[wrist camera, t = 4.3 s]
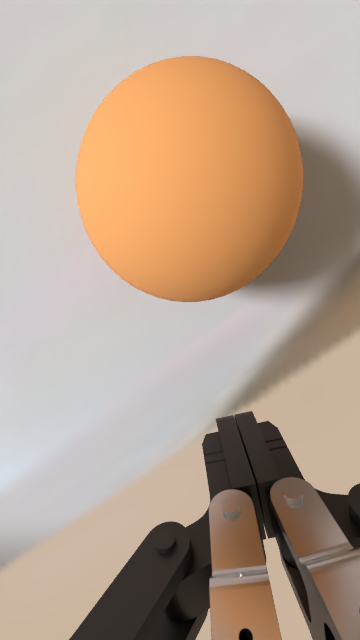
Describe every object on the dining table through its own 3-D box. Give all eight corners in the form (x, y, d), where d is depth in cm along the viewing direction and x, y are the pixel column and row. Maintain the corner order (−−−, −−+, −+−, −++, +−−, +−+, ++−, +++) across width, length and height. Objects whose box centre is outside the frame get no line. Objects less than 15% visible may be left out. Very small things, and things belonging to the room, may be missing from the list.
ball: (273, 261, 13) (361, 298, 7) (125, 295, 13) (93, 357, 7) (251, 86, 11) (345, -56, 5) (79, 128, 11) (-14, 34, 5)
